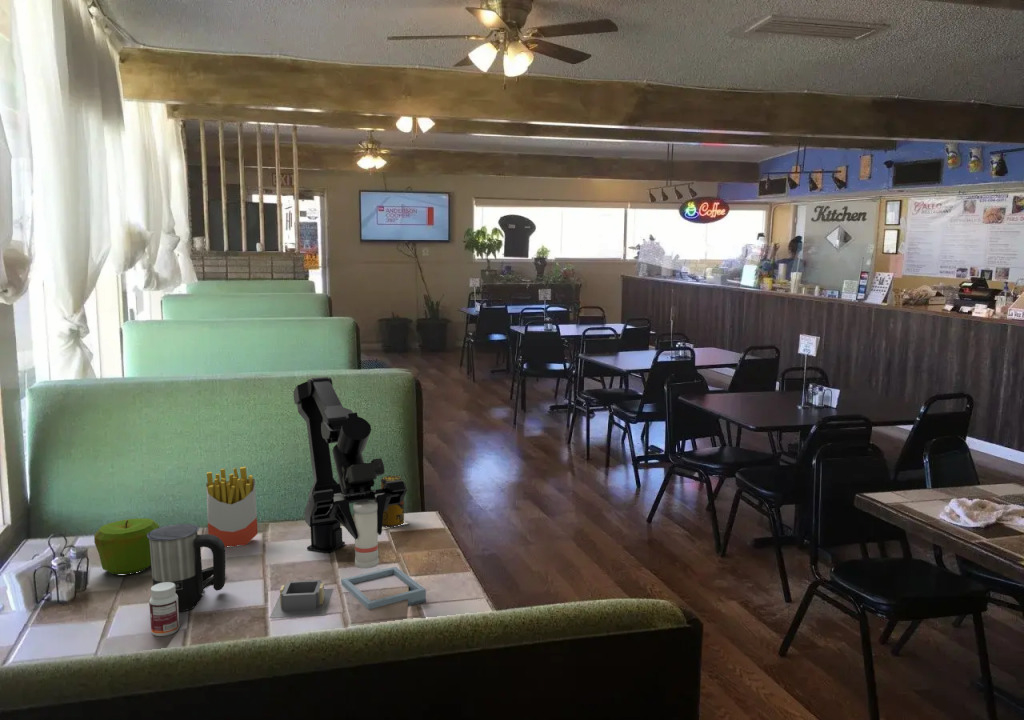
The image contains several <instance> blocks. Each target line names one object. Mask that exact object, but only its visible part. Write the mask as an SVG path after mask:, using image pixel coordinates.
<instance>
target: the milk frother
mask: <svg viewBox="0 0 1024 720" xmlns="http://www.w3.org/2000/svg"><path fill="white" fill-rule="evenodd" d="M199 530H200V528H199V526H198V525H196V524H192V523H177V524H169V525H165V526H161V527H159V528H157V529H155V530H153V531H151V532H149V533H148V534H147V537H148V538H149V541H150V553H151V565H150V566H151V576H152V586H154V585H156V584H158V583H163V582H172V583H174V584H175V589H176V592H175V593H176V594H177V595H178V604H179V613H181V612H186V611H189V610H192V609H194V608H196V606H197V605H198V604H199V602H200V601H201V600H202V598H203V594H204V590H205V589H206V588H208V587H209V586H210V585H212V584H213V587H212V588H213V589H214V590H215V591H217V592H218V591H221V590H222V589H223V588H224V587H225V584H226V547H225V546H224V543H223V542H222V540H221V539H220V538H218V537H217V536H214V535H210V534H208V533H207V534H206V533H205V534H198V531H199ZM202 548H208V549H209V550H211V552H212V563H213V564H212V566H210V567H206V568H204V569H203V566H202V565H203V564H202V552H201V549H202Z"/></svg>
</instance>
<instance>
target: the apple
mask: <svg viewBox="0 0 1024 720" xmlns="http://www.w3.org/2000/svg"><path fill="white" fill-rule="evenodd" d="M157 528H160V525H159V524H158V523H157V522H156V521H155V520H154V519H151V518H145V517H143V518H137V517H136V518H128V519H122V520H117V521H113V522H108V523H106V524H104V525H102V526H100V527H99V529H98V530H97V531H96V532H95V533H94V539H93V540H94V541H93V542H94V545H95V547H96V550H97V552H98V556H99V560H100V564H101V568H102V569H103V570H104V571H106V572H108V573H110V574H112V575H114V574H130V573H136V572H139V571H142V570H144V569H146V568H147V569H148V568H149V567H150V566H151V553H150V541H149V538H148V537H147V534H148V533H149V532H151V531H153V530H155V529H157ZM147 569H146V570H147ZM144 571H145V570H144ZM142 572H143V571H142ZM136 574H137V573H136Z"/></svg>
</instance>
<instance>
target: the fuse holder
mask: <svg viewBox="0 0 1024 720" xmlns="http://www.w3.org/2000/svg"><path fill="white" fill-rule="evenodd" d="M333 591H334V588H325V583H324V582H323V581H321V579H311V580H310V579H307V580H289V581H288V582H286V583H285V584H282V585H281V586H280V589H279V597H278V598H277V601H276V603H275V605H274V607H273V609H272V611H271V613H270V616H269V619H280V618H282V619H284V618H300V617H318V616H326V614H327V611H328V606H329V603H330V601H331V597H332V594H333Z"/></svg>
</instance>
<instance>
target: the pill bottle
mask: <svg viewBox="0 0 1024 720" xmlns="http://www.w3.org/2000/svg"><path fill="white" fill-rule="evenodd" d="M175 592H176V589H175V584H174V583H172V582H163V583H158V584H156V585H154V586H153V585H152V586H151V588H150V596H151V597H150V599H149V601H148V602H149V605H148V606H149V616H150V629H151V634H152V635H153V636H157V637H167V636H170V635H172V634H175V633H176V632H178V631H179V629H180V627H181V624H180V623H181V621H180V612H179V604H178V595H177V594H176V593H175Z"/></svg>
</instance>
